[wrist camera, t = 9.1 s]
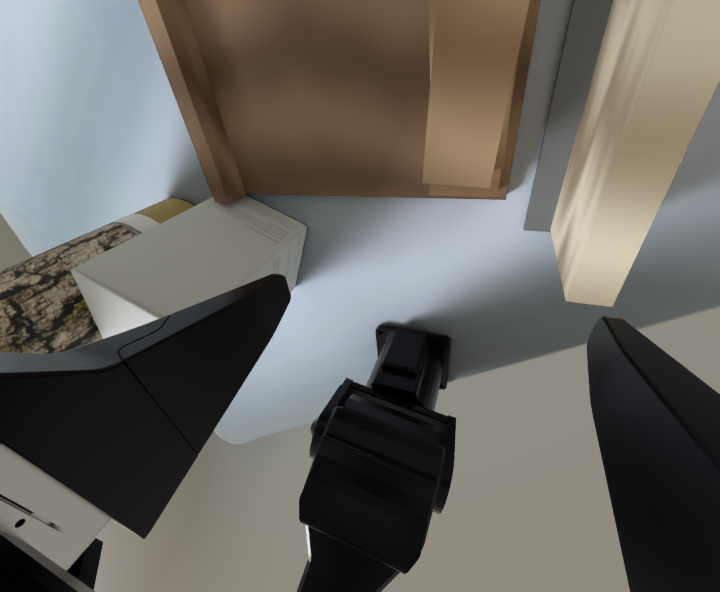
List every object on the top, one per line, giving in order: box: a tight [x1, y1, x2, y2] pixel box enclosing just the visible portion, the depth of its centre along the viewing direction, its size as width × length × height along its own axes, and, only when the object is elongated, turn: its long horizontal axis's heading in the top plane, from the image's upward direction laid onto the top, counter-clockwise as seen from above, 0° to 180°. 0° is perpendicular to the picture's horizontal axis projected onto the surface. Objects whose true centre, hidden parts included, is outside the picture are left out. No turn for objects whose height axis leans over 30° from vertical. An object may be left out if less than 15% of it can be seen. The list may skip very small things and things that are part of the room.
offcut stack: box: [422, 0, 530, 197], centre depth 13 cm, size 13×4×3 cm, turn 7°
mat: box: [524, 0, 613, 232], centre depth 15 cm, size 12×4×1 cm, turn 7°
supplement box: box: [71, 194, 307, 339], centre depth 23 cm, size 7×7×13 cm
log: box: [0, 198, 194, 353], centre depth 20 cm, size 7×7×25 cm
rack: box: [138, 0, 540, 203], centre depth 16 cm, size 14×19×3 cm
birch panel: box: [550, 0, 720, 307], centre depth 12 cm, size 12×2×7 cm, turn 7°
